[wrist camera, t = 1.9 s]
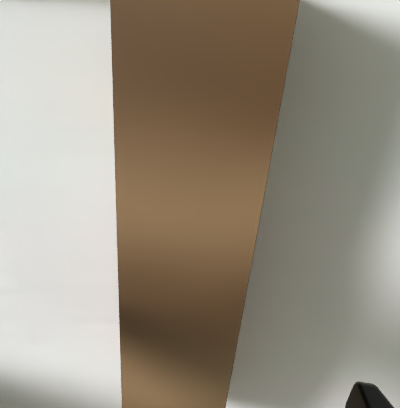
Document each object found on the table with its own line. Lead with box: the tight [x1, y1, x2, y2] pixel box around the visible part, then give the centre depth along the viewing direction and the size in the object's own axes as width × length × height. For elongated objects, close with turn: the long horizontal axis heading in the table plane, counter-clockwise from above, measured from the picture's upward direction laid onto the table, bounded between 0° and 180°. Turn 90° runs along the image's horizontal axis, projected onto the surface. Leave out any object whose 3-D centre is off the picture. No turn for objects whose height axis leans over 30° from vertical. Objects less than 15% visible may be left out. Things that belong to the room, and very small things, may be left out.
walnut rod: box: [110, 0, 300, 408], centre depth 12 cm, size 16×4×4 cm, turn 175°
